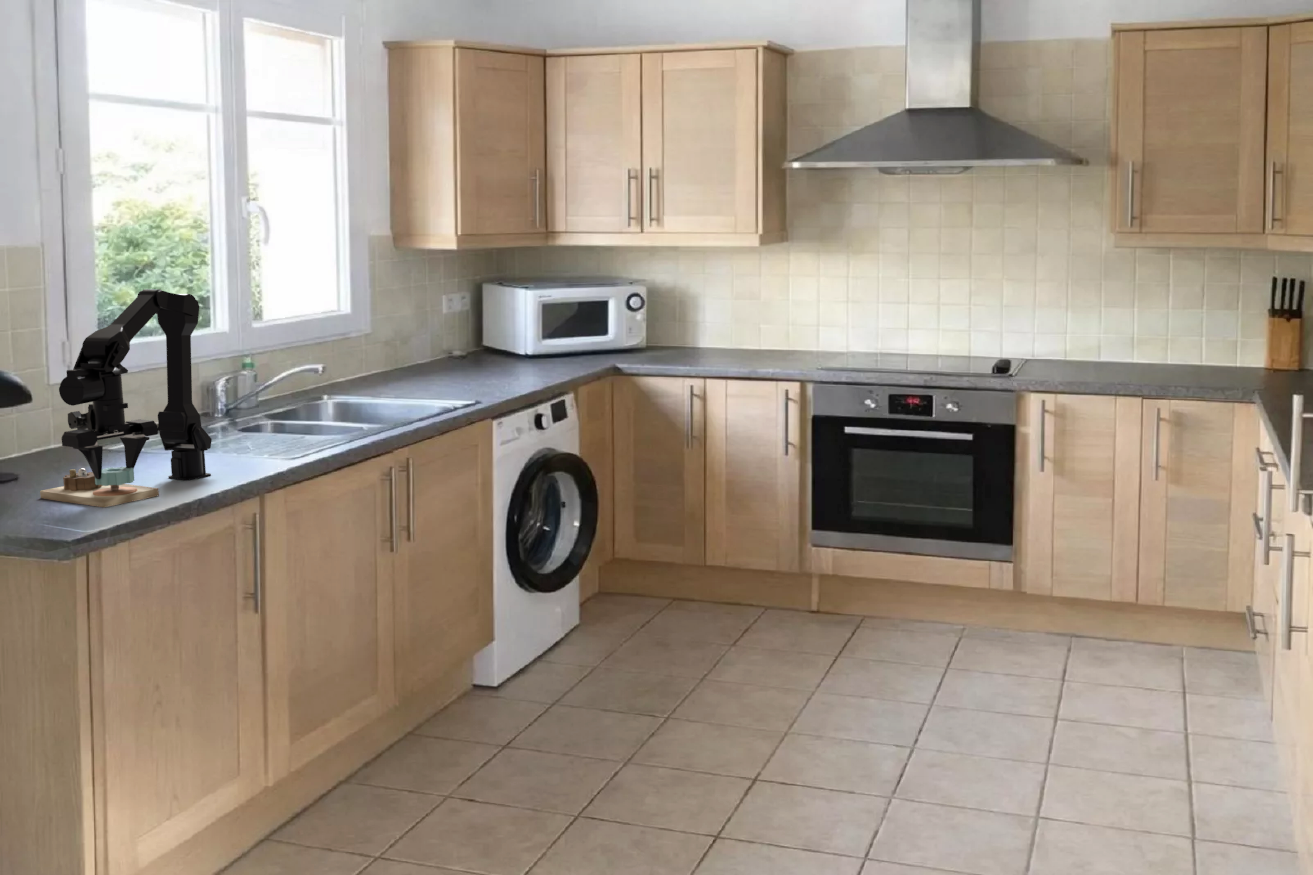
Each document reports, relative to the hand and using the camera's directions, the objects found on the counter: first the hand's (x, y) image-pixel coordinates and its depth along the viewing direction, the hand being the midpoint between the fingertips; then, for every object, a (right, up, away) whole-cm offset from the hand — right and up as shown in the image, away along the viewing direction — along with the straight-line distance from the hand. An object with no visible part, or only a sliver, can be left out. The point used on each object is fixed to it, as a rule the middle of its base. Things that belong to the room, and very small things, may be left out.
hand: (114, 475), depth 287 cm
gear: (-8, -3, +6) cm, 11 cm away
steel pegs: (-4, -3, +3) cm, 6 cm away
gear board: (-4, -4, +3) cm, 7 cm away
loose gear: (0, -1, 0) cm, 1 cm away
